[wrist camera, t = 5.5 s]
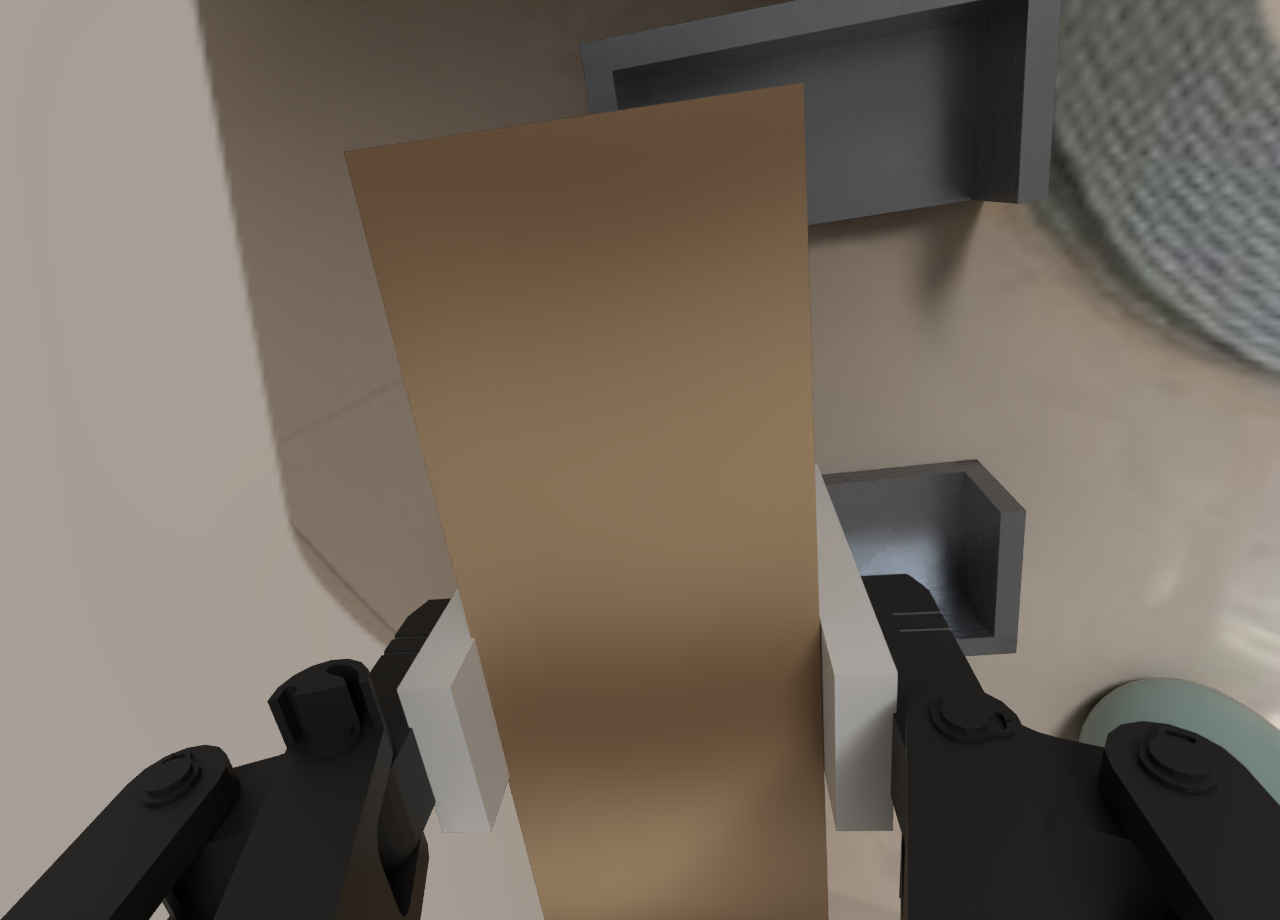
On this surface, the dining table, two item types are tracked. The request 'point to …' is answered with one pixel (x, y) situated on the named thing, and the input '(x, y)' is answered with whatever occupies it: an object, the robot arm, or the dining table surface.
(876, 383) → the dining table surface
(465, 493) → the wooden block
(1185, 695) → the cup
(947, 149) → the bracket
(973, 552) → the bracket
